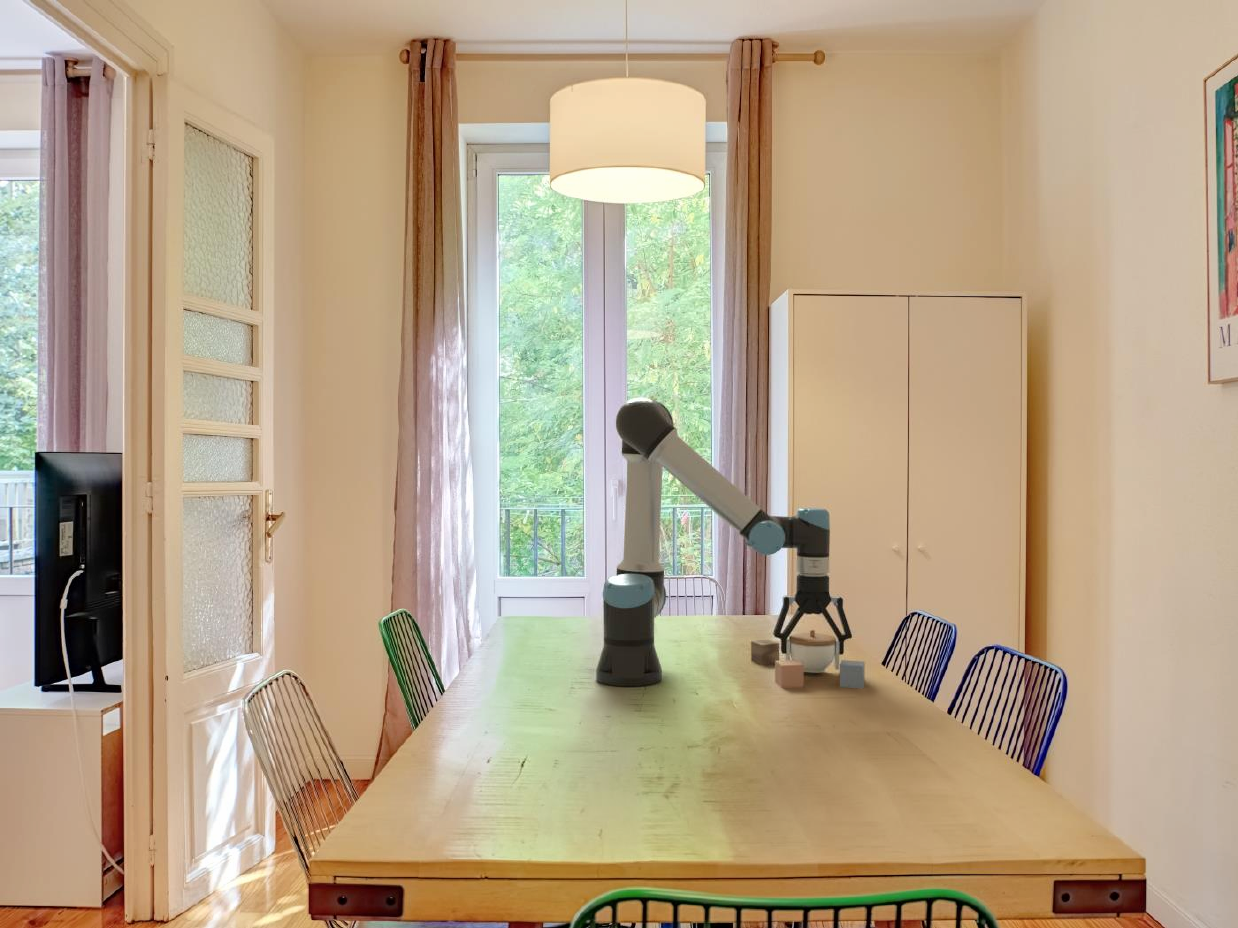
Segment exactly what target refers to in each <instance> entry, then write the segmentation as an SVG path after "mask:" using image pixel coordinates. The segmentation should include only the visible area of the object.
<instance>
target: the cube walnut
mask: <svg viewBox="0 0 1238 928" xmlns="http://www.w3.org/2000/svg"><path fill="white" fill-rule="evenodd" d="M750 646H751V647H750V651H751V653H750V654H751V655H750V657H751V659H750V660H751V662H753V663H756V664H759V666H760V665H761V666H763V665H775V661H780V642H777V641H774V640H771V639H763V640H751V641H750Z"/></svg>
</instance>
